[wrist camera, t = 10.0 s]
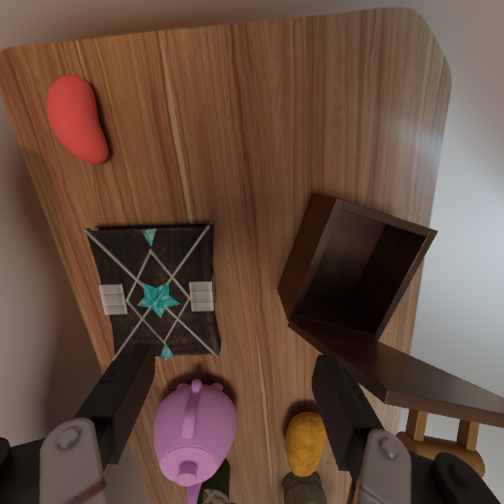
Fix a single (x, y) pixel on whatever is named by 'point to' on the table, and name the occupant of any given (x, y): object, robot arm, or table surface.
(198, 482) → the teapot
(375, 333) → the chest
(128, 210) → the table surface
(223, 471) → the wine bottle
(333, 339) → the lid
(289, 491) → the tall handled vase
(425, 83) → the table surface
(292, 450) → the potato
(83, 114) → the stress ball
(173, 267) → the book
